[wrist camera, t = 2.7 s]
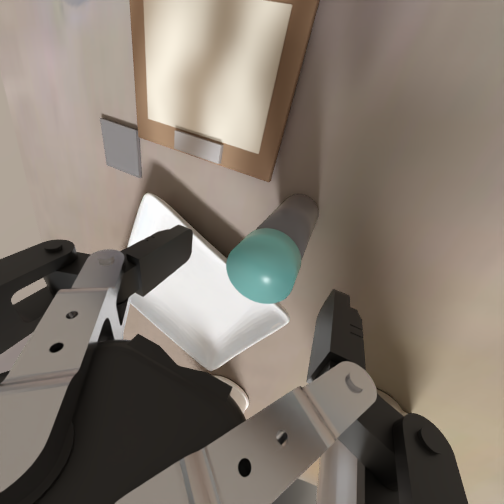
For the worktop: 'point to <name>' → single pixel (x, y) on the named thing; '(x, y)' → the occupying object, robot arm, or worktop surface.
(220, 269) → the salad plate
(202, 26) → the clipboard
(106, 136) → the coaster
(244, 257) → the marker
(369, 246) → the worktop surface
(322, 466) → the robot arm
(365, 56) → the worktop surface
